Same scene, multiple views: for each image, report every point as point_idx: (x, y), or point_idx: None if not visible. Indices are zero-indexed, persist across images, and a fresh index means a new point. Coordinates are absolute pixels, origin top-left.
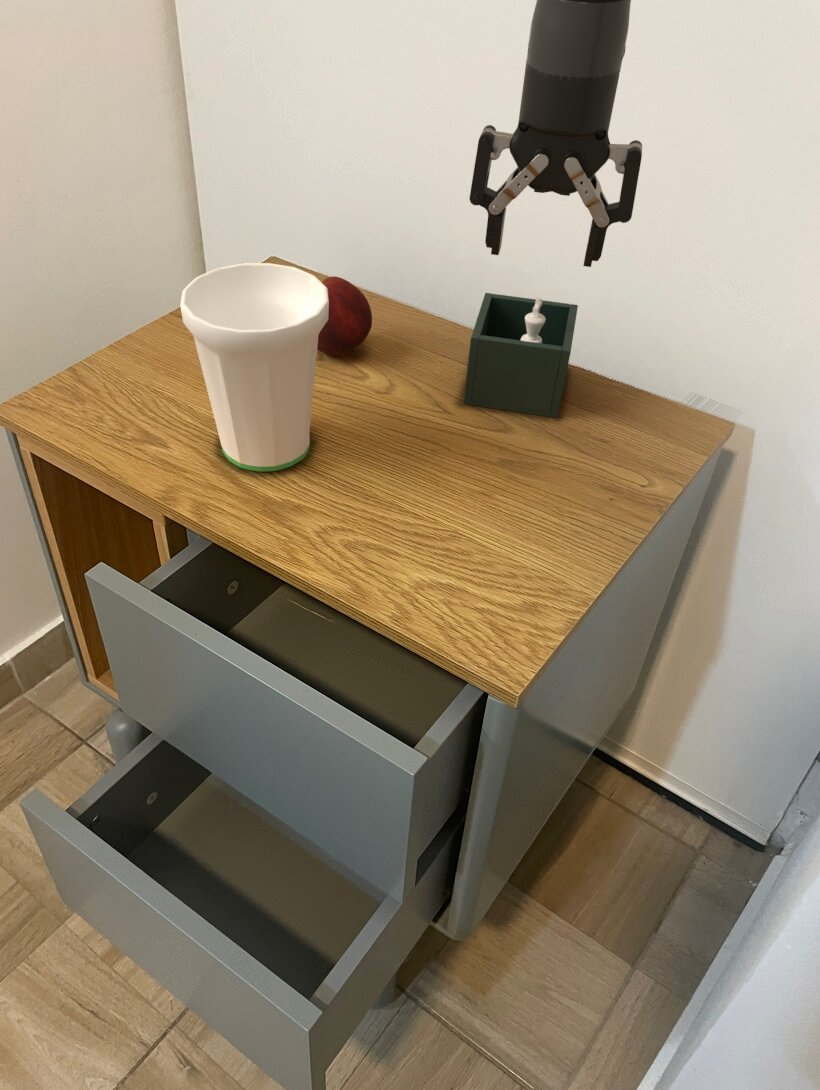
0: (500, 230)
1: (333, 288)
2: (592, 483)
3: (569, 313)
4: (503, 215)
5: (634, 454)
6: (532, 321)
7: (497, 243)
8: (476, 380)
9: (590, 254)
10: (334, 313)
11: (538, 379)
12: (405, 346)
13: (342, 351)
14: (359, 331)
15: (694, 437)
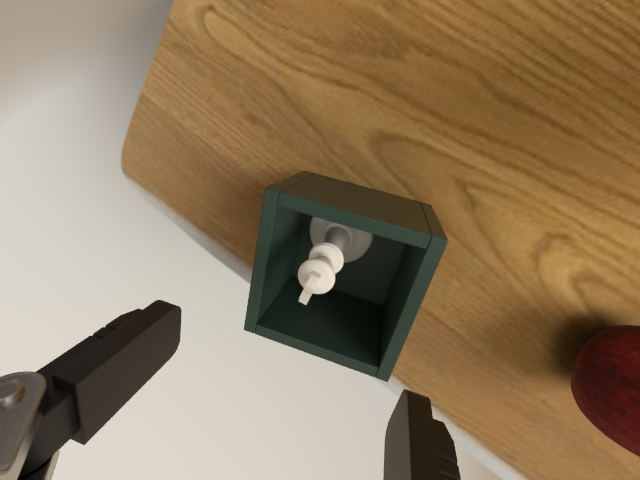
0: (413, 466)
1: None
2: (274, 5)
3: (257, 306)
4: None
5: (216, 88)
6: (322, 263)
7: (415, 421)
8: (420, 211)
9: (141, 319)
10: None
11: (324, 188)
12: (488, 346)
13: (628, 325)
14: (617, 347)
15: (149, 132)
